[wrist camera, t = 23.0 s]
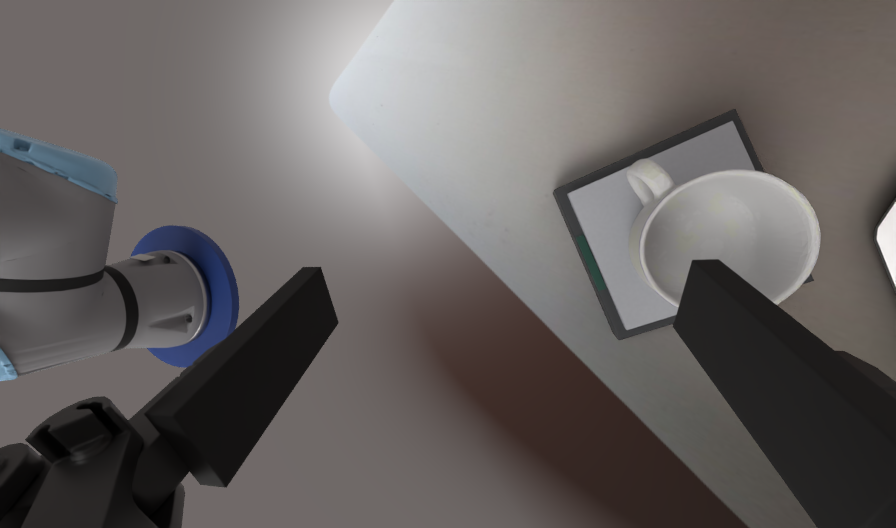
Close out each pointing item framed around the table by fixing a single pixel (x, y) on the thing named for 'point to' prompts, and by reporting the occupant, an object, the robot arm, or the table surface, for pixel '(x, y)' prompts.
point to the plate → (887, 242)
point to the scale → (617, 205)
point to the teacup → (721, 229)
